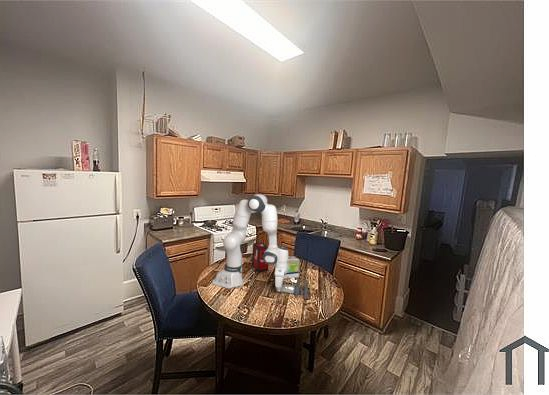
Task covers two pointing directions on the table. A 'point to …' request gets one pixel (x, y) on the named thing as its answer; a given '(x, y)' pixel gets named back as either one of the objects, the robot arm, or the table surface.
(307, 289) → the collars
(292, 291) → the tube
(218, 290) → the table surface
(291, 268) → the tea box
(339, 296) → the table surface
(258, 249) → the cleaning product box
